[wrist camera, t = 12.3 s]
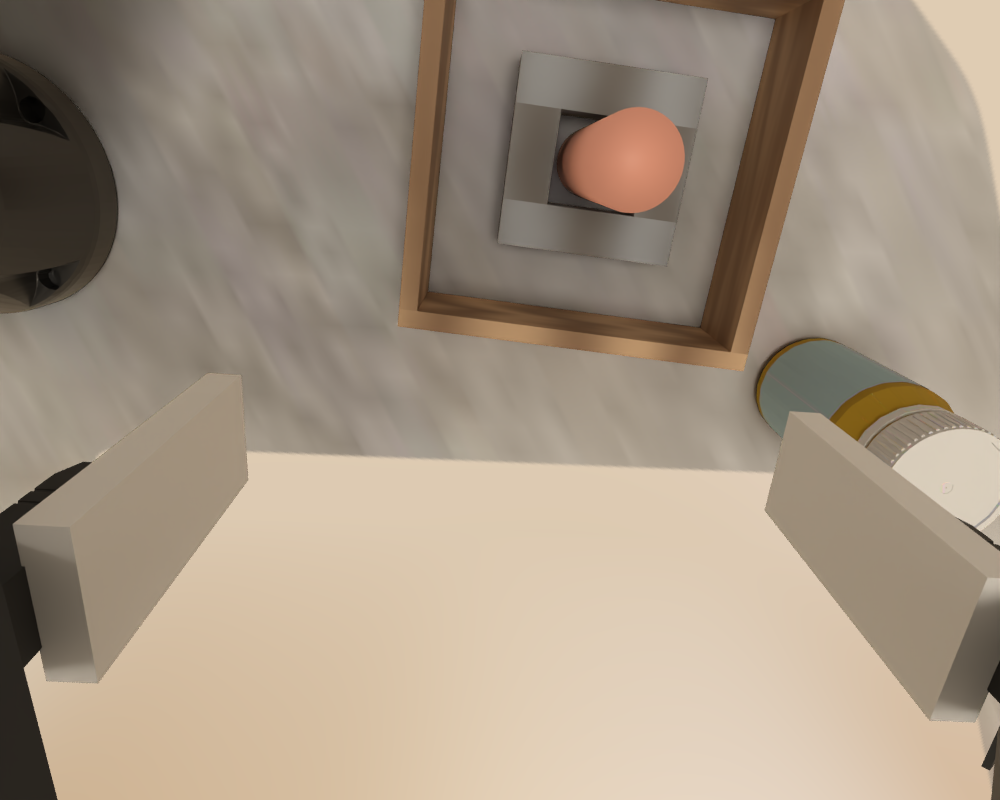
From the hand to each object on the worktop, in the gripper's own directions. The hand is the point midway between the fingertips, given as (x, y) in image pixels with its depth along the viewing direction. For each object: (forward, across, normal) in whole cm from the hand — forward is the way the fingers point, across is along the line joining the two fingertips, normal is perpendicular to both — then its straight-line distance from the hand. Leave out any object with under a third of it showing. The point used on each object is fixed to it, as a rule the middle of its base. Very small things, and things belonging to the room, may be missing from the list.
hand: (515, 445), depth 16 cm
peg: (+27, +5, +7) cm, 29 cm away
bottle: (+27, +21, -6) cm, 35 cm away
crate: (+27, +5, +6) cm, 29 cm away
